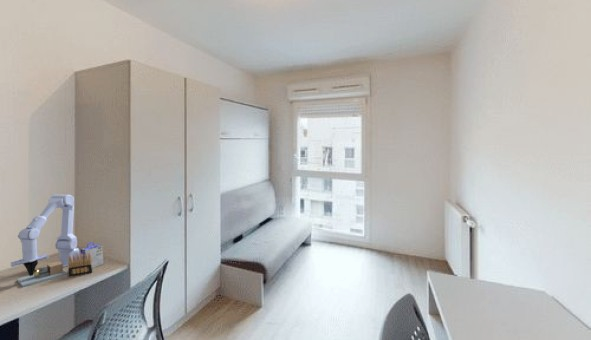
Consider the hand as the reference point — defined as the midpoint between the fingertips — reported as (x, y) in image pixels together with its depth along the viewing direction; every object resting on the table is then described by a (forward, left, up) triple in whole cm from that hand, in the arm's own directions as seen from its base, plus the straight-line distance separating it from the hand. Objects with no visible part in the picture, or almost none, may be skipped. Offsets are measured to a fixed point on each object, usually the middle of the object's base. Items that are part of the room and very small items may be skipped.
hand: (31, 275), depth 147 cm
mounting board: (-5, 0, -3) cm, 6 cm away
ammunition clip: (-19, +11, -3) cm, 22 cm away
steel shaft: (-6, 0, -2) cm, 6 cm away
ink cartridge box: (-27, +4, -3) cm, 27 cm away
